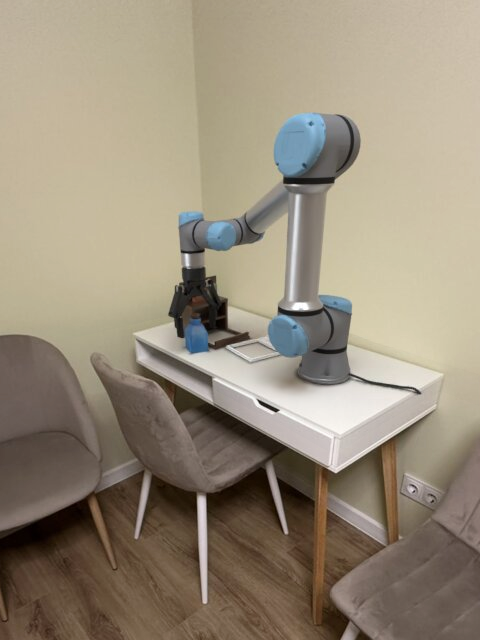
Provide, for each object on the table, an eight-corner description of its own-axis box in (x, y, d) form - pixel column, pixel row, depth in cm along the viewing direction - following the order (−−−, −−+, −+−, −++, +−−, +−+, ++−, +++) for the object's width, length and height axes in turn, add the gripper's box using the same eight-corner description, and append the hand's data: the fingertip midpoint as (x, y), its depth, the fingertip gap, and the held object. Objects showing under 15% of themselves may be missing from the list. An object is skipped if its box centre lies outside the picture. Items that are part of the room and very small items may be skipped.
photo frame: (295, 347, 157) (250, 358, 149) (294, 350, 158) (250, 362, 150) (269, 335, 168) (226, 345, 160) (269, 338, 168) (226, 348, 161)
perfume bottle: (185, 347, 162) (183, 313, 156) (202, 345, 164) (201, 310, 158) (190, 353, 157) (189, 318, 151) (208, 351, 159) (207, 316, 153)
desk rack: (249, 338, 169) (250, 284, 159) (215, 349, 160) (214, 293, 150) (215, 325, 181) (214, 275, 172) (181, 335, 172) (178, 282, 163)
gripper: (216, 259, 156) (218, 322, 166) (153, 270, 142) (159, 338, 153) (231, 262, 151) (232, 326, 161) (167, 274, 137) (173, 344, 148)
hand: (197, 332), depth 157 cm, fingers open, 13 cm apart
